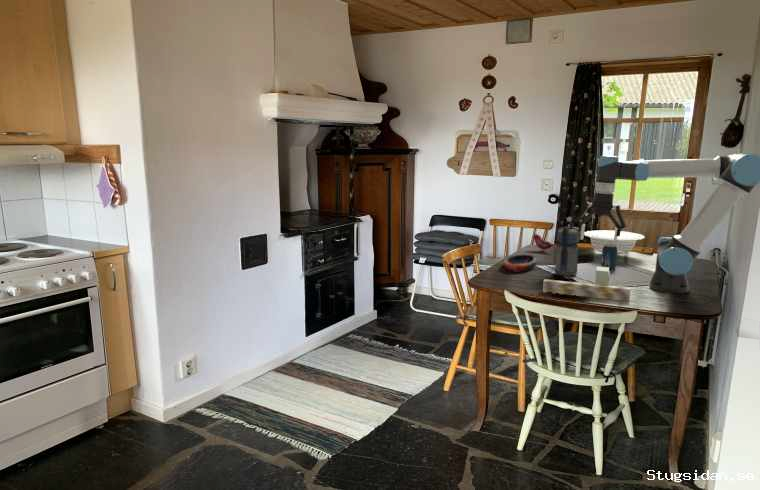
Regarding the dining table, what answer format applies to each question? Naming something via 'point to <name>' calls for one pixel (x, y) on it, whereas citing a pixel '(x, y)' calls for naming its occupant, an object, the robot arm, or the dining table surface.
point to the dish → (519, 262)
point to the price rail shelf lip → (587, 290)
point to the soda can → (609, 256)
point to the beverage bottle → (567, 251)
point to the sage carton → (602, 276)
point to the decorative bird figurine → (542, 243)
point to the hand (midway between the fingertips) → (597, 241)
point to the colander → (608, 238)
